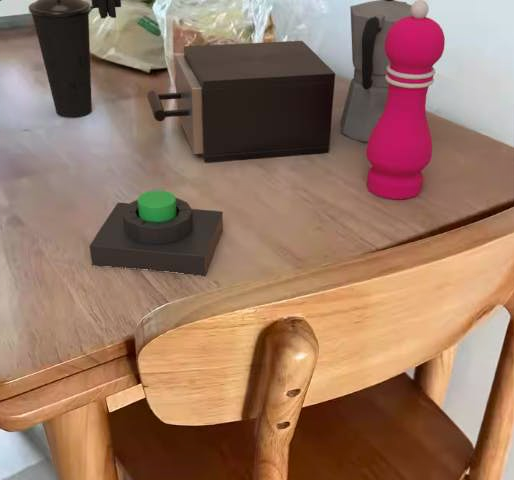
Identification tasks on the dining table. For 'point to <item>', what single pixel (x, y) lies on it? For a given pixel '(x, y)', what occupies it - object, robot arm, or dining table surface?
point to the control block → (158, 240)
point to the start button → (157, 206)
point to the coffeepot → (369, 65)
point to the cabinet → (263, 100)
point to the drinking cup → (65, 52)
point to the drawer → (183, 104)
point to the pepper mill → (405, 107)
